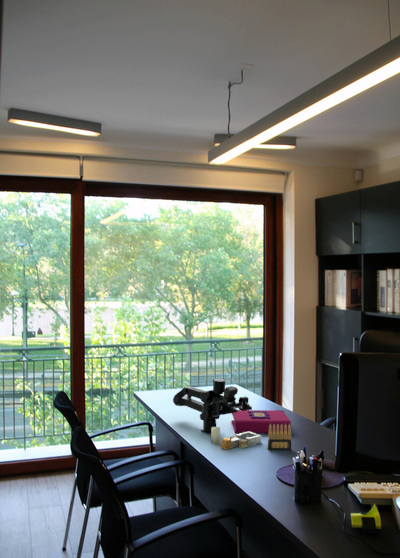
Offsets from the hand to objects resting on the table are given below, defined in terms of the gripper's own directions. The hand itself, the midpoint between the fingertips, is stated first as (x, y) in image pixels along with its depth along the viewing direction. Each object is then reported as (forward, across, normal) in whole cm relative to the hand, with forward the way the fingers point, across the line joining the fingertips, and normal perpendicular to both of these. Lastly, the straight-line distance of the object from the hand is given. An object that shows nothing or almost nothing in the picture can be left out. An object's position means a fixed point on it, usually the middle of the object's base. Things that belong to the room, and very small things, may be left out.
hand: (244, 409), depth 250 cm
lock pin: (-1, -6, +17) cm, 18 cm away
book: (-14, +25, +17) cm, 34 cm away
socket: (-1, +4, +16) cm, 17 cm away
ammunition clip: (+15, +9, +16) cm, 24 cm away
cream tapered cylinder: (-10, -9, +17) cm, 21 cm away
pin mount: (-1, -2, +16) cm, 17 cm away
